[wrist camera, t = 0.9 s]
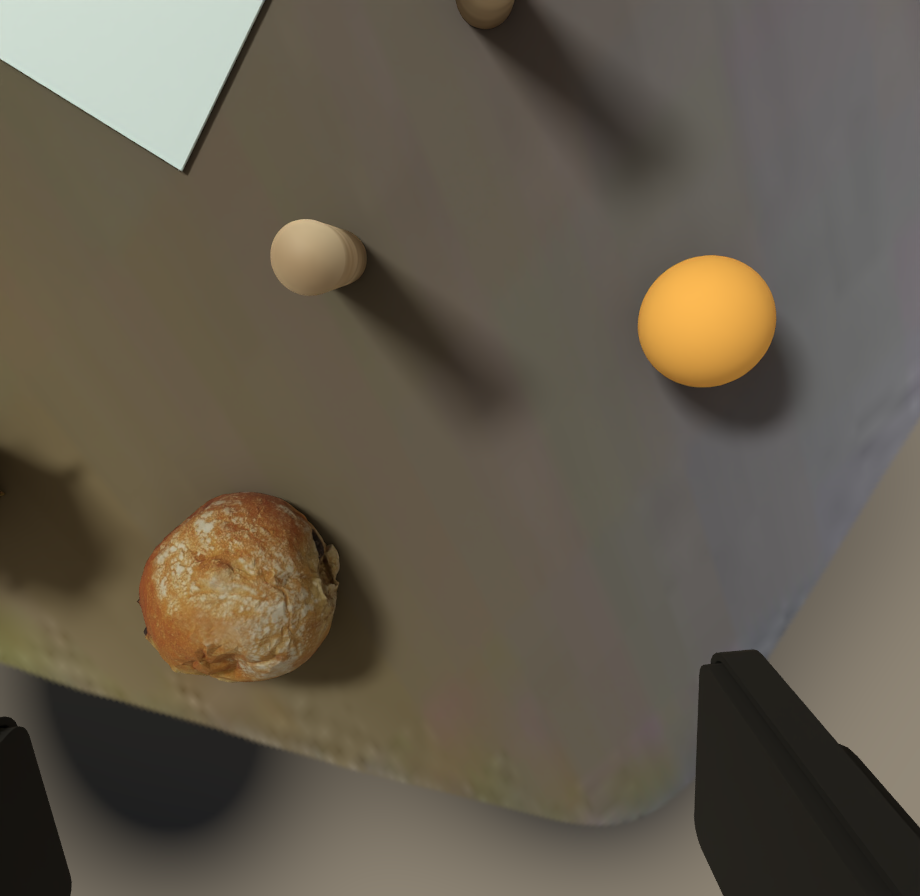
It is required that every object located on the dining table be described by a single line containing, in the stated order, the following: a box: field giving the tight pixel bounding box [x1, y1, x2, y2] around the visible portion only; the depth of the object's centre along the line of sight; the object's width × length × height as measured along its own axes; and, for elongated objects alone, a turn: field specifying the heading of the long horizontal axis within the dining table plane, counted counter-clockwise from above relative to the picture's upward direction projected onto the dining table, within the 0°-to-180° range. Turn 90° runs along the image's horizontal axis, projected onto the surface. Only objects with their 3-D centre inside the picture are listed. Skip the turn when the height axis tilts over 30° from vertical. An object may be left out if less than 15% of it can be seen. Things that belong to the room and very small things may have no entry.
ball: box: [638, 255, 776, 387], centre depth 31 cm, size 6×6×6 cm
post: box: [271, 219, 367, 296], centre depth 28 cm, size 3×3×9 cm
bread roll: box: [137, 492, 340, 683], centre depth 34 cm, size 10×10×8 cm
